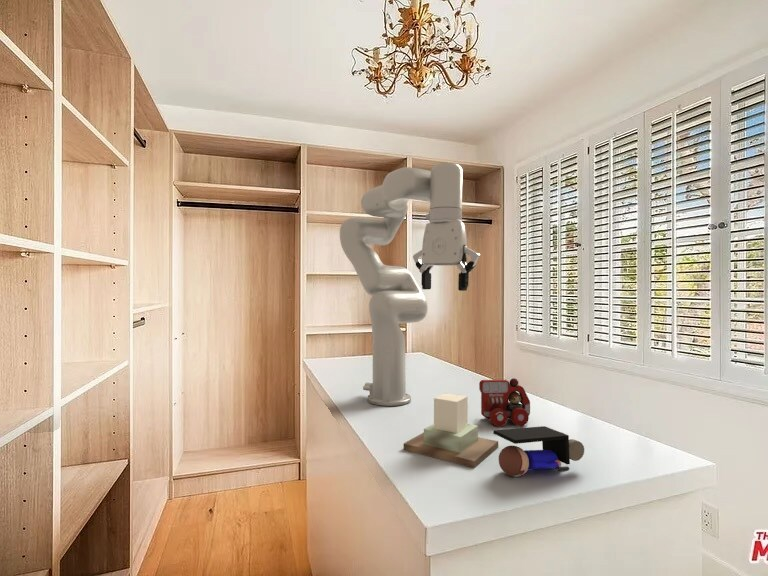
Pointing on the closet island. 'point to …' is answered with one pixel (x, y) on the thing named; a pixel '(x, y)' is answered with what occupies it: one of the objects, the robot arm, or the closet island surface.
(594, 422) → the closet island surface
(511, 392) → the toy fire truck
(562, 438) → the figurine character
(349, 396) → the closet island surface
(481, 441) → the base
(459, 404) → the cream block
